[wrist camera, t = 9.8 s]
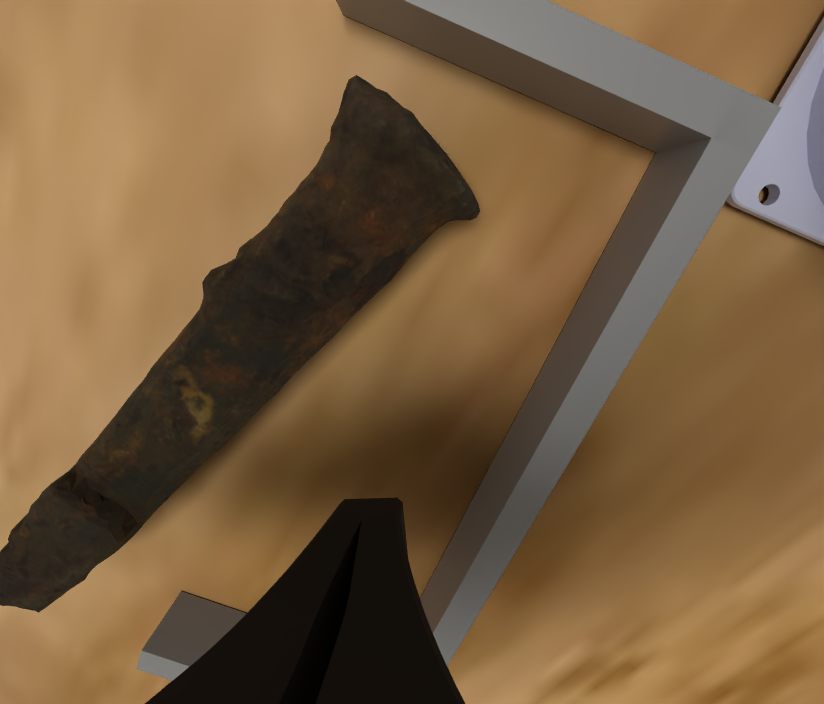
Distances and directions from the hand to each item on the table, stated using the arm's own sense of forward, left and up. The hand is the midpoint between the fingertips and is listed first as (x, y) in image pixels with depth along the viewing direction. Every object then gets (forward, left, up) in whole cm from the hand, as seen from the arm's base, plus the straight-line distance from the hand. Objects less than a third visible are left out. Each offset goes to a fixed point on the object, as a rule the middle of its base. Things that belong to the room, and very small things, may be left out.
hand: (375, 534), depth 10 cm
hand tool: (+5, 0, -6) cm, 8 cm away
